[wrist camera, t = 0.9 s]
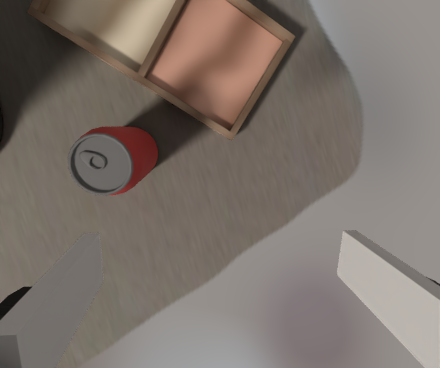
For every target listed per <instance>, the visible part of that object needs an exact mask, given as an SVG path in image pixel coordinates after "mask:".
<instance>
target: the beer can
mask: <svg viewBox="0 0 440 368" xmlns="http://www.w3.org/2000/svg"><path fill="white" fill-rule="evenodd" d="M157 159H158V149H157V145H156V142H155V141H154V139H153V138H152V136H151V135H150V134H148V133H147V132H146V131H145V130H142V129H140V128H137V127H99V128H95V129H92V130H90V131H89V132H87V133H86V134H84V135H83V136H81V137H80V139H78V140H77V141H76V142H75V143H74V145H73V146H72V147H71V149H70V152H69V156H68V169H69V171H70V174H71V177H72V178H73V180H74V181H75V182H76V183H77V185H78V186H79V187H81V188H82V189H84V190H85V191H87V192H89V193H92V194H95V195H116V194H120V193H124V192H126V191H128V190H129V189H131V188H133V187H134V186H135V185H136V184H137V183H138V182H139V181H141V180H142V179H143V178H144V177H145V176H146V175H147V174H148V173H149V172H150V171H151V170H152V169H153V168H154V166H155V165H156V162H157Z"/></svg>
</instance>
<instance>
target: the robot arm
mask: <svg viewBox="0 0 440 368" xmlns="http://www.w3.org/2000/svg"><path fill="white" fill-rule="evenodd" d="M2 131H3V120H2V113H1V109H0V141H1V137H2ZM337 275H338V276H339V277H340V279H342V281H343V282H344V283H345V284H346V285H347V286H348V287H349V288H350V289H351V290H352V291H353V292H354V293H355V294H356V295H357V296H358V298H359V299H360V300H361V301H363V303H364V304H365V305H366V306H367V307H368V308H369V309H370V310H371V311H372V312H373V313H374V314H375V316H376V317H377V318H378V319H379V320H380V321H381V322H382V323H383V324H384V325H385V326H386V327H387V328H388V329H389V330H390V331H391V332H392V334H393V335H394V336H395V337H396V338H397V339H398V340H399V341H400V342H401V343H402V344H403V345H404V346H405V347H406V348H407V349H408V350H409V351H410V352H411V354H412V355H413V356H414V357H415V358H416V359H417V360H418V361H419V362H420V363H421V364H422V365H423V366H424V367H425V368H440V284H439V283H437V282H436V281H434V280H431V279H429V278H427V277H425V276H423V275H422V274H420V273H419V272H418V271H416V270H415V269H413V268H412V267H410V266H409V265H407V264H406V263H404V262H403V261H401V260H400V259H398V258H397V257H395V256H393V255H392V254H390V253H389V252H387V251H386V250H385V249H383V248H382V247H380V246H379V245H377V244H376V243H374V242H373V241H371V240H370V239H368V238H367V237H365V236H364V235H362V234H361V233H359V232H358V231H356V230H355V231H354V230H352V231H343V236H342V242H341V249H340V256H339V262H338V269H337ZM103 281H104V280H103V267H102V253H101V239H100V233H84V234H83V235H82V236H81V237H80V238H79V239H78V240H77V241H76V242H75V243H74V244H73V245H72V246H71V247H70V248H69V249H68V250H67V251H66V252H65V254H64V255H63V256H62V257H61V258H60V259H59V260H58V261H57V262H56V263H55V264H54V265H53V266H52V267H51V268H50V269H49V270H48V271H47V272H46V273H45V274H44V275H43V276H42V277H41V278H40V280H39V281H38V282H37V283H36V284H35V285H34V286H33V287H22V288H21V289H19V290H17V291H16V292H14V293H12V294H10V295H9V296H8V297H7V298H6V299H4V300H3V301H2V302H1V303H0V368H56V366H57V365H58V363H59V361H60V359H61V357H62V355H63V354H64V352H65V350H66V348H67V346H68V345H69V343H70V341H71V339H72V337H73V336H74V334H75V332H76V330H77V328H78V326H79V325H80V323H81V321H82V319H83V317H84V316H85V314H86V312H87V310H88V308H89V307H90V305H91V303H92V301H93V299H94V297H95V296H96V294H97V292H98V290H99V288H100V287H101V285H102V283H103Z"/></svg>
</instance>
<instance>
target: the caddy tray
mask: <svg viewBox="0 0 440 368" xmlns="http://www.w3.org/2000/svg"><path fill="white" fill-rule="evenodd" d="M27 13H28V14H30V15H31V16H33V17H34V18H36V19H37V20H39V21H40V22H42V23H43V24H45V25H47V26H48V27H50V28H51V29H53V30H55V31H56V32H58V33H60V34H61V35H63V36H64V37H66V38H68V39H69V40H71V41H72V42H74V43H76V44H77V45H79V46H80V47H82V48H84V49H85V50H87V51H88V52H90V53H92V54H93V55H95V56H96V57H98V58H100V59H101V60H103V61H104V62H106V63H108V64H109V65H111V66H112V67H114V68H116V69H117V70H119V71H120V72H122V73H124V74H125V75H127V76H129V77H130V78H132V79H133V80H135V81H137V82H138V83H140V84H141V85H143V86H145V87H146V88H148V89H149V90H151V91H153V92H154V93H156V94H157V95H159V96H161V97H162V98H164V99H165V100H167V101H169V102H170V103H172V104H173V105H175V106H177V107H178V108H180V109H181V110H183V111H185V112H186V113H188V114H189V115H191V116H193V117H194V118H196V119H197V120H199V121H201V122H202V123H204V124H206V125H207V126H209V127H210V128H212V129H214V130H215V131H217V132H218V133H220V134H222V135H223V136H225V137H226V138H228V139H230V140H233V138H234V137H235V135H236V133H237V132H238V130H239V128H240V127H241V125H242V124H243V122H244V120H245V119H246V117H247V115H248V114H249V112H250V110H251V109H252V107H253V106H254V104H255V102H256V101H257V99H258V97H259V96H260V94H261V92H262V91H263V89H264V87H265V86H266V84H267V83H268V81H269V79H270V78H271V76H272V74H273V73H274V71H275V69H276V68H277V66H278V64H279V63H280V61H281V60H282V58H283V56H284V55H285V53H286V51H287V50H288V48H289V46H290V45H291V43H292V42H293V40H294V38H295V36H294V35H293V34H291V33H290V32H289V31H287V30H286V29H285V28H283V27H282V26H281V25H279V24H278V23H277V22H275V21H274V20H273V19H271V18H270V17H269V16H267V15H266V14H265V13H263V12H262V11H260V10H259V9H258V8H256V7H255V6H254V5H252V4H251V3H250V2H248V1H247V0H32V2H31V4H30V7H29V9H28V11H27Z"/></svg>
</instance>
